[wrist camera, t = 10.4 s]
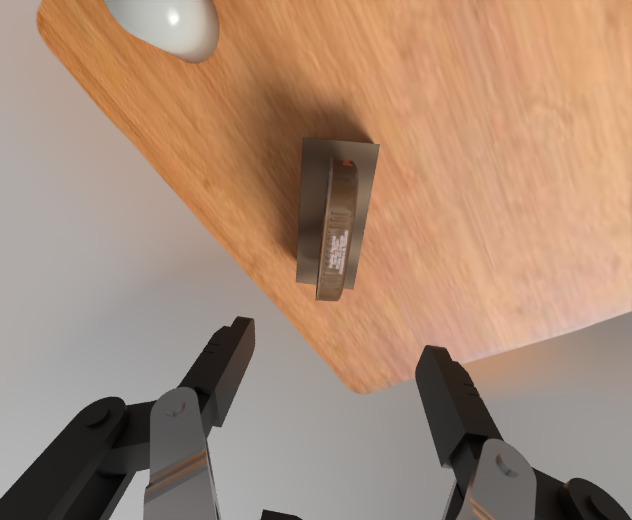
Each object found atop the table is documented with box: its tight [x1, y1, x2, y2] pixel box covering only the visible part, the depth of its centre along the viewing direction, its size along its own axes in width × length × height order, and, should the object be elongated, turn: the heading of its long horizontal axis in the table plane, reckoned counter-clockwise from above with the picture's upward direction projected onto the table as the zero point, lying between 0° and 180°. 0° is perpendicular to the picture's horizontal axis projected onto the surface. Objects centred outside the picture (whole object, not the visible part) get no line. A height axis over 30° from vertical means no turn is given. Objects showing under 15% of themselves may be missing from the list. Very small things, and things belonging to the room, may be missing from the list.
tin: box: [316, 157, 358, 301], centre depth 25 cm, size 15×3×8 cm, turn 175°
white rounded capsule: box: [104, 0, 219, 64], centre depth 22 cm, size 7×7×7 cm
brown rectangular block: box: [296, 137, 380, 289], centre depth 31 cm, size 18×8×5 cm, turn 176°
